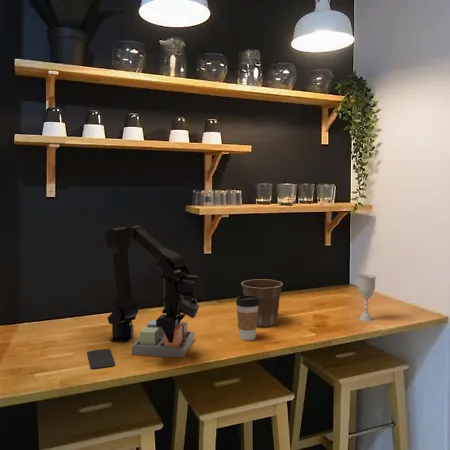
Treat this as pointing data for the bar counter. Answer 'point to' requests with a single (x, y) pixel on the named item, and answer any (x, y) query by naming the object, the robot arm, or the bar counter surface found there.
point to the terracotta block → (176, 340)
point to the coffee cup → (247, 316)
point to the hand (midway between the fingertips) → (172, 339)
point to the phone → (100, 359)
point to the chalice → (366, 292)
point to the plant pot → (265, 299)
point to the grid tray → (161, 342)
